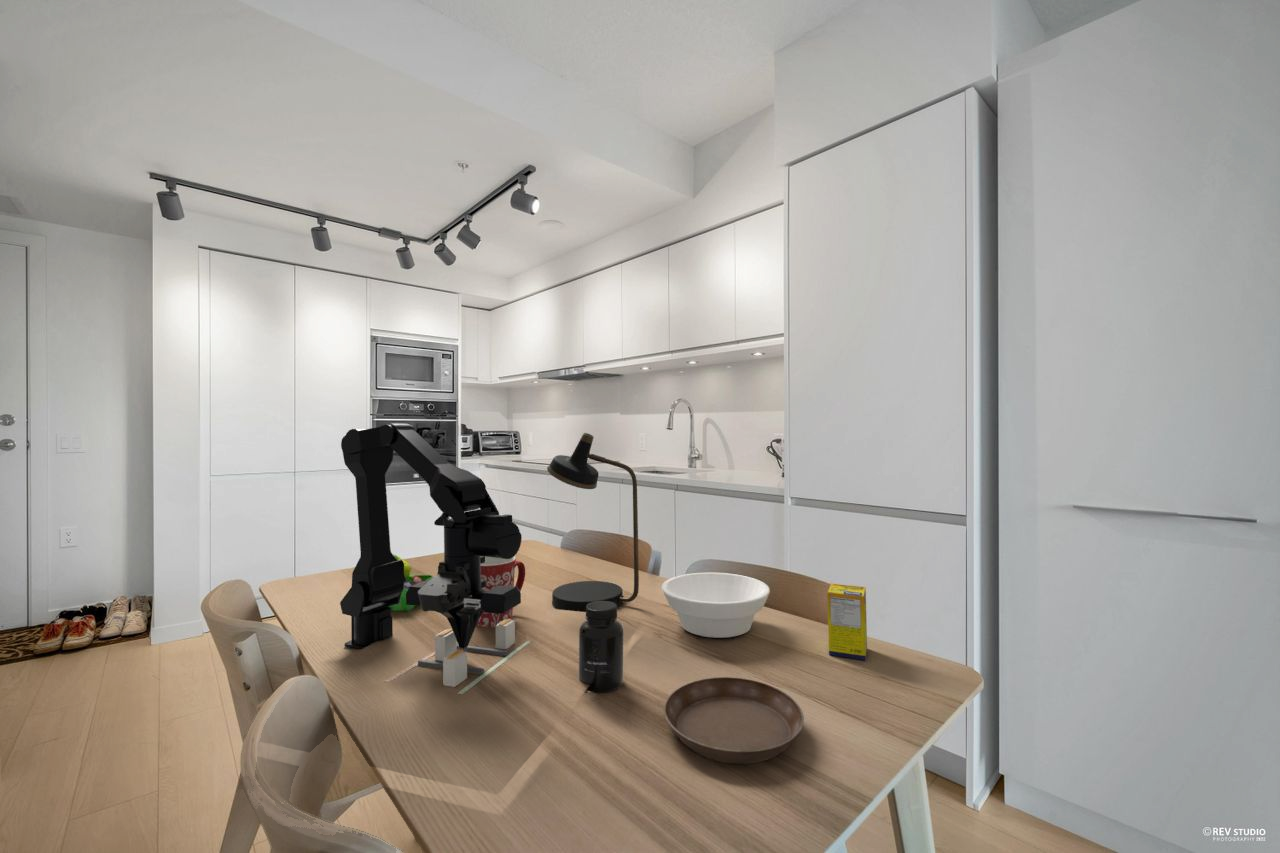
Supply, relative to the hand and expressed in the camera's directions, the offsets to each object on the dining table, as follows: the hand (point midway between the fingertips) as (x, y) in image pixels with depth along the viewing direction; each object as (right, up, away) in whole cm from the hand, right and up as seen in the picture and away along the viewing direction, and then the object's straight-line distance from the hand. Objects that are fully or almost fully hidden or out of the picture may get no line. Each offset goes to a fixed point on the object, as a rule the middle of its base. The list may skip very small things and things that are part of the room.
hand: (463, 647), depth 88 cm
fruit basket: (-24, -4, +33) cm, 41 cm away
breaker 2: (+5, -2, +6) cm, 8 cm away
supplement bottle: (+23, -3, -6) cm, 24 cm away
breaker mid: (-3, -2, +1) cm, 4 cm away
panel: (0, -3, 0) cm, 3 cm away
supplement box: (+65, -3, +5) cm, 66 cm away
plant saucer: (+41, -3, -19) cm, 46 cm away
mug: (+1, -4, +20) cm, 20 cm away
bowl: (+44, -3, +17) cm, 47 cm away
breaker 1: (+1, -2, -8) cm, 8 cm away
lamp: (+19, -4, +33) cm, 38 cm away
